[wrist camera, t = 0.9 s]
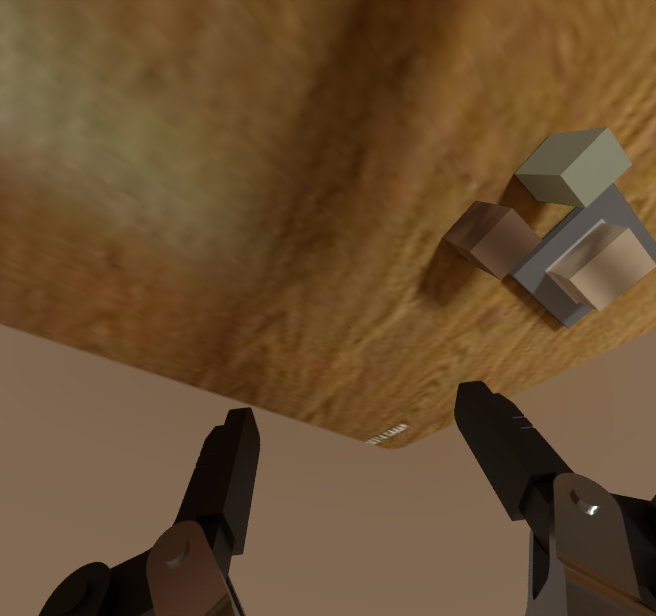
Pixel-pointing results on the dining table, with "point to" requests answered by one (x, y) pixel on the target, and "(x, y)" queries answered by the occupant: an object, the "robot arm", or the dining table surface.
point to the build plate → (564, 239)
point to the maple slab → (603, 265)
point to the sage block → (574, 167)
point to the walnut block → (492, 238)
